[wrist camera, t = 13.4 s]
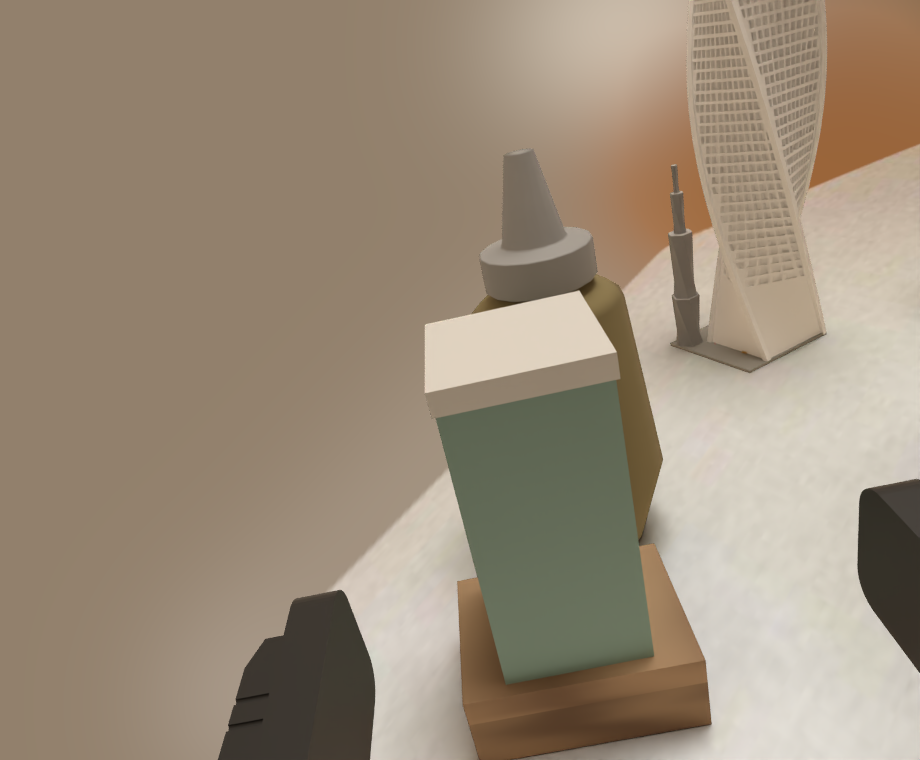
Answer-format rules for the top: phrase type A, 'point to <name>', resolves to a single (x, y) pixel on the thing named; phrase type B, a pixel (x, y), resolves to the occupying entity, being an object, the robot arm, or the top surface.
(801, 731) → the top surface
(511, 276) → the squeeze bottle
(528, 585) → the tin
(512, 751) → the brown wooden bridge block
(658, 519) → the top surface
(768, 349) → the skyscraper
